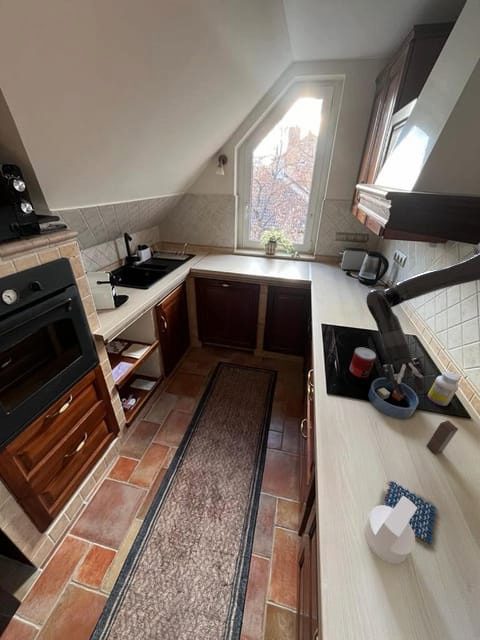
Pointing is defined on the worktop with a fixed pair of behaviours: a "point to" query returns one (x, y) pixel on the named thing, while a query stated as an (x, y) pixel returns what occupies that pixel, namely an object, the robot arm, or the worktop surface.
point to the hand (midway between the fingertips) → (411, 392)
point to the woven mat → (424, 512)
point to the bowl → (389, 408)
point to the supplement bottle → (444, 388)
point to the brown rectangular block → (441, 437)
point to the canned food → (362, 362)
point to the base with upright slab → (391, 531)
